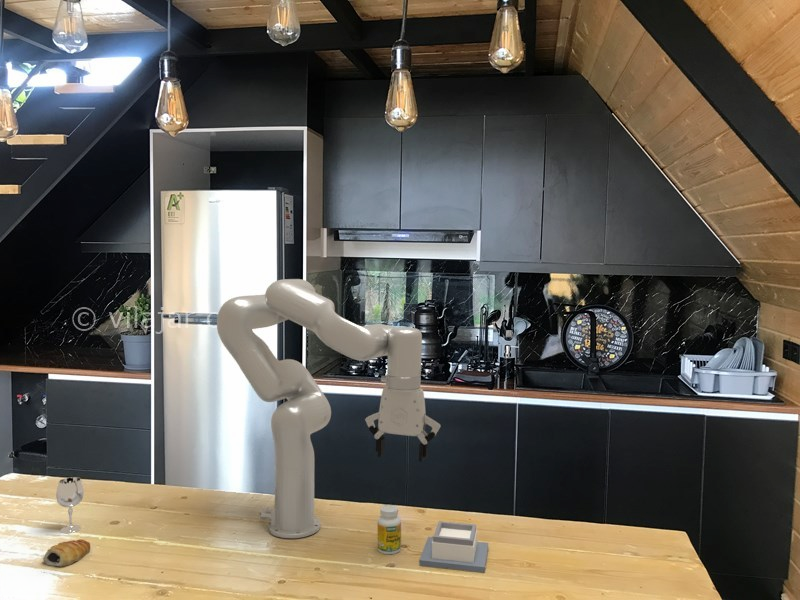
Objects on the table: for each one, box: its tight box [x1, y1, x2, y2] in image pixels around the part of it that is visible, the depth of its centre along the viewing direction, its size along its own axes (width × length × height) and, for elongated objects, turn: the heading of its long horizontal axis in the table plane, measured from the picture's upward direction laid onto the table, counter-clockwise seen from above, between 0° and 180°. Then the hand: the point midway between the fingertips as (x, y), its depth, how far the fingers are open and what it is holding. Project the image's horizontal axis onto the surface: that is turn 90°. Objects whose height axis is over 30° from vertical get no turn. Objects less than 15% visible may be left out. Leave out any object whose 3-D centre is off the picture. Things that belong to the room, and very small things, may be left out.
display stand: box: [418, 520, 489, 574], centre depth 140 cm, size 14×12×6 cm
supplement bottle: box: [377, 504, 402, 555], centre depth 143 cm, size 5×5×10 cm
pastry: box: [42, 539, 91, 568], centre depth 137 cm, size 9×7×4 cm
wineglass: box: [56, 476, 84, 534], centre depth 151 cm, size 6×6×12 cm
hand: (401, 457), depth 142 cm, fingers open, 9 cm apart
